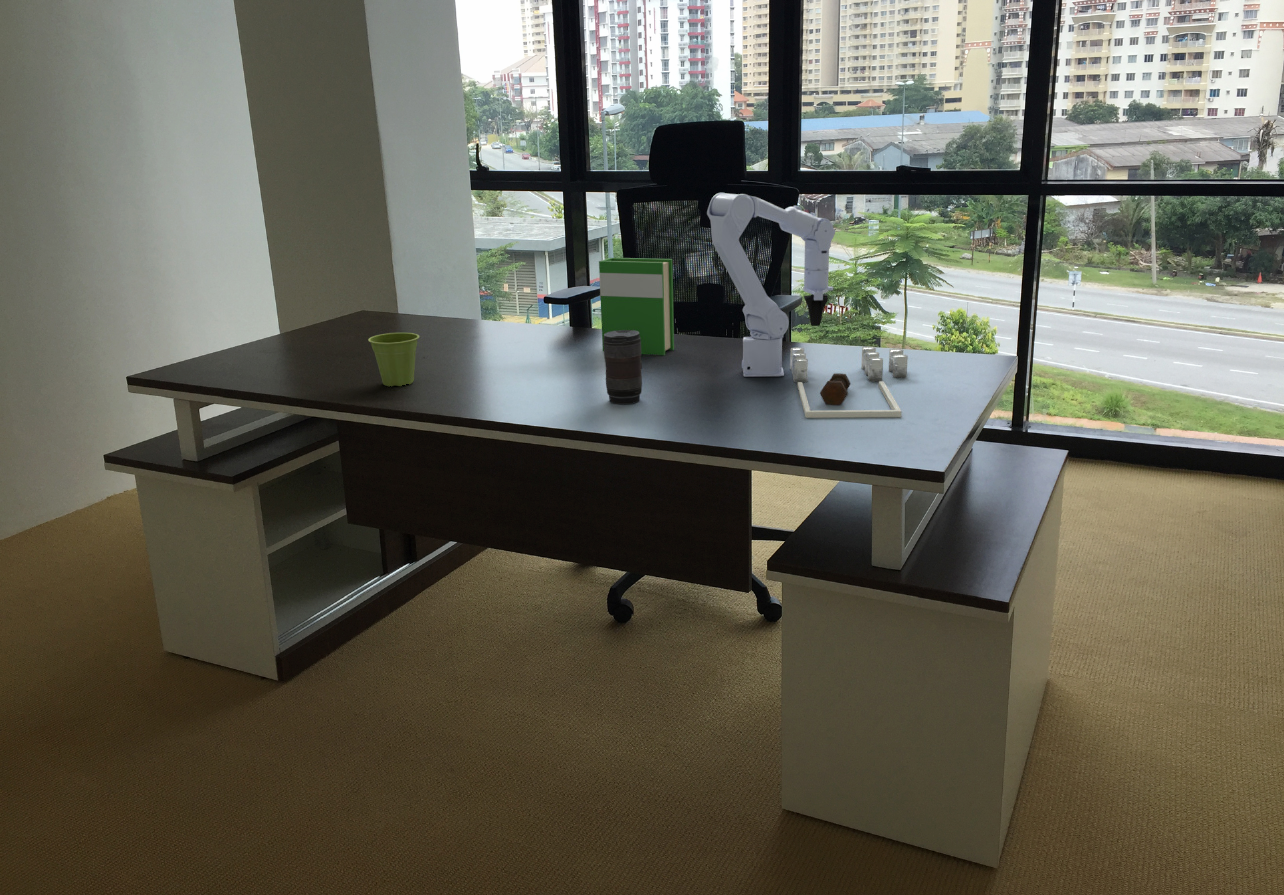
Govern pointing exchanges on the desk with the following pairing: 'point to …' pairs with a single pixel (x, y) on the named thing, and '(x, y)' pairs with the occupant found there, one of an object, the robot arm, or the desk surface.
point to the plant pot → (395, 357)
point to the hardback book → (638, 300)
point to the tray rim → (852, 413)
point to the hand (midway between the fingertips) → (815, 325)
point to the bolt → (835, 389)
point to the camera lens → (623, 366)
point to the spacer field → (869, 364)
